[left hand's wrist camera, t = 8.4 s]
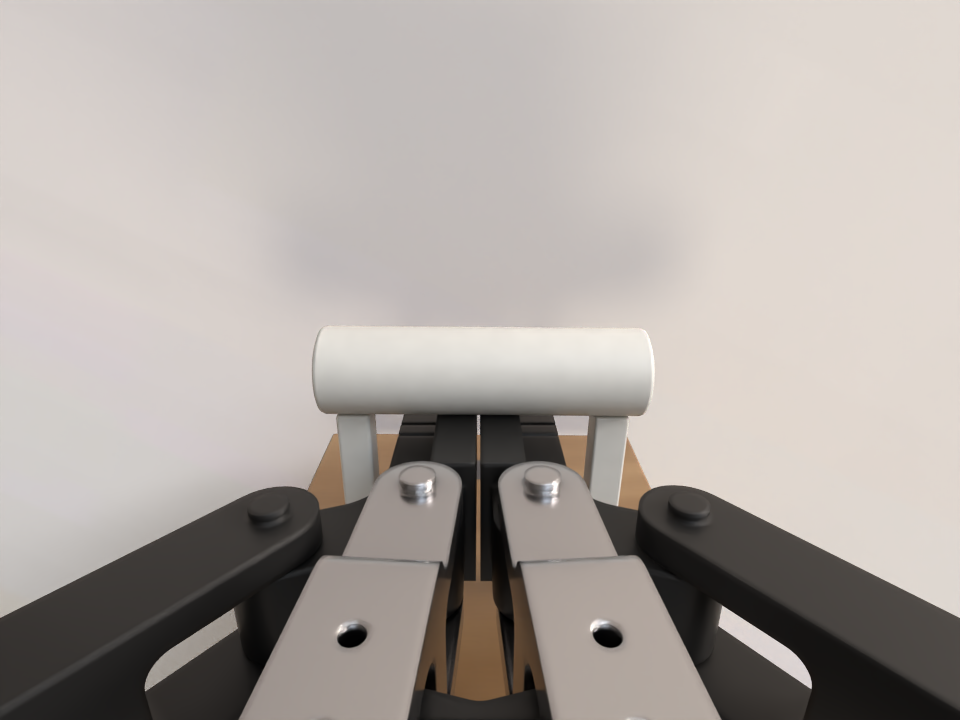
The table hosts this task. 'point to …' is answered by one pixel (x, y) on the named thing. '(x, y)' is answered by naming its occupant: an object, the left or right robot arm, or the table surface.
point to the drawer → (481, 391)
